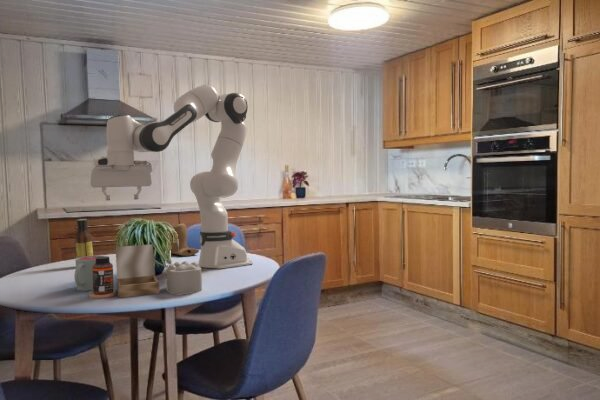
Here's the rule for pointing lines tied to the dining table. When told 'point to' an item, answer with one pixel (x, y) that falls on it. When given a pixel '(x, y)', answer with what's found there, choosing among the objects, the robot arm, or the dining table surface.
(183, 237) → the brown boot
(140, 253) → the cold frame
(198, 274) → the lumpy-topped squat cylinder
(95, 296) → the saucer
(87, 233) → the sauce bottle
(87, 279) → the mug
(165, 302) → the dining table surface
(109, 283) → the supplement bottle
